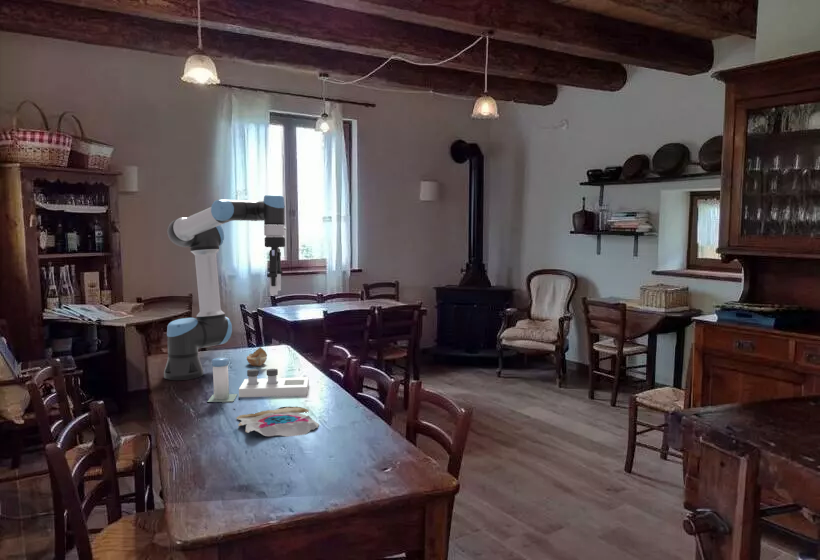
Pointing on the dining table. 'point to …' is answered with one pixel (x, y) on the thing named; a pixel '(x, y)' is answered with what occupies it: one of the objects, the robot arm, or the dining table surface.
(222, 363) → the cylinder
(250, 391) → the white tube rack
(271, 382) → the plunger
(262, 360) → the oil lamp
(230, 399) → the mat
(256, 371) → the plunger
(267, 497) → the dining table surface
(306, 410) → the rumpled printed cloth
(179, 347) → the robot arm
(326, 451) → the dining table surface
